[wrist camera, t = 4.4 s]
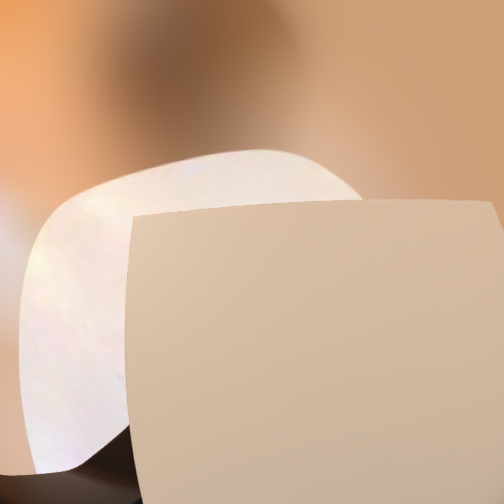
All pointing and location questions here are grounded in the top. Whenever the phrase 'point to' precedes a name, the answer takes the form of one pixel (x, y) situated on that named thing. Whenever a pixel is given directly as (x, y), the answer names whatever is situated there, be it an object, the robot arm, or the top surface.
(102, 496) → the robot arm
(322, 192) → the top surface
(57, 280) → the top surface
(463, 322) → the tea tin
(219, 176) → the top surface
